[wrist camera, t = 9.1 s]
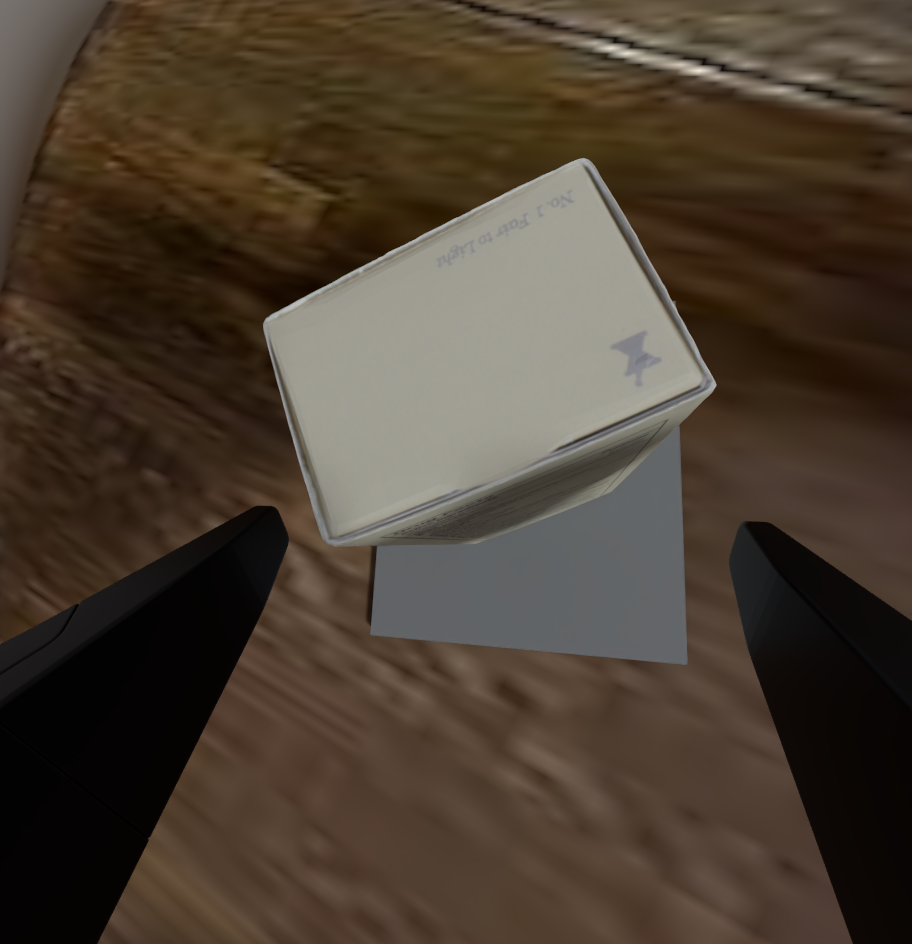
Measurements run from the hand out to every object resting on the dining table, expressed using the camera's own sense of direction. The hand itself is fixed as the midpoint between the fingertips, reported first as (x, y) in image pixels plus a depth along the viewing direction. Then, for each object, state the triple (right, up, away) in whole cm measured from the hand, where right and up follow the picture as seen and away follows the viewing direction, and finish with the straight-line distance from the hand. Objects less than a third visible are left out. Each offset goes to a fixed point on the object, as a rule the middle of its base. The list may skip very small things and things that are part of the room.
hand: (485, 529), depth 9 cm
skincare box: (+2, +1, +10) cm, 10 cm away
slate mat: (+2, +1, +10) cm, 11 cm away
